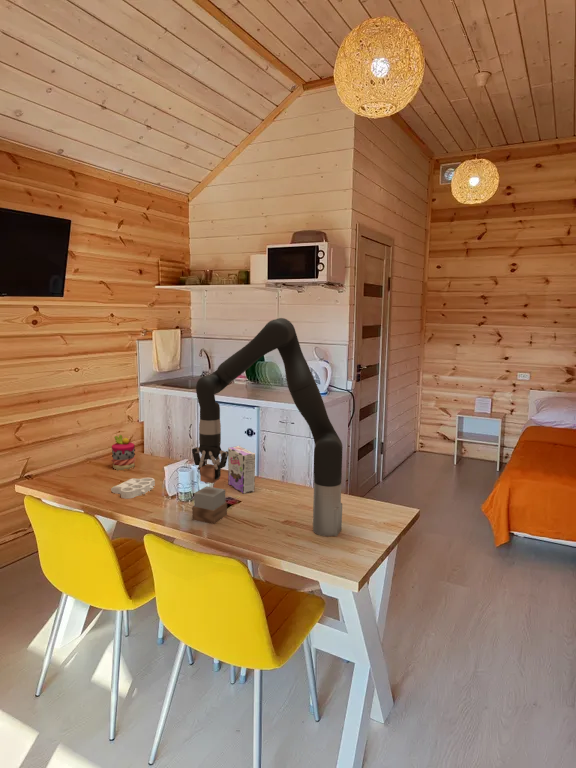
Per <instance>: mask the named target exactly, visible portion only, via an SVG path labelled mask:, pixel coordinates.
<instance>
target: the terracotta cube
mask: <svg viewBox="0 0 576 768" xmlns="http://www.w3.org/2000/svg"><path fill="white" fill-rule="evenodd" d="M206 464H207V465H205V466H203V467H201V468H200V467H199V475H200V476H199V477H200V482H203V483H209V484H214V483H216V482H217V481H220V479H221V476H220V477H219V479H217V480H216V479H215V467H214V464H213V463H212V464H210V463H206Z"/></svg>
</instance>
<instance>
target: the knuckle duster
mask: <svg viewBox="0 0 576 768" xmlns="http://www.w3.org/2000/svg"><path fill="white" fill-rule="evenodd" d="M155 481H156V480H155V478H153V477H142V478H129V479H127V480H125V481H124V482H122V483H120V484H117V485H113V487H111V488H110V489H111V490H110V491H111V492H112V493H113V494H118V495H120V498H121V499H133V498H135V497H137V496H139V497H140V496H143V495H145V494H146V493H149V492H151V491H152V490H153V489H154V488H155V487H156V482H155ZM153 486H155V487H153ZM150 490H151V491H150ZM148 491H149V492H148ZM142 494H143V495H142Z"/></svg>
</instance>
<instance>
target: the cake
mask: <svg viewBox="0 0 576 768" xmlns="http://www.w3.org/2000/svg"><path fill="white" fill-rule="evenodd" d="M114 440H115V443H113V444H112V445H111V450H112V451H111V453H112V455H111V457H112V459H111V460H110V461H111V462H112V469H113V468H114V469H116V470H115V471H119V470H123V471H125V470H124V469H130V468H132V467H134V466H135V463H136V460H137V458H136V456H135V455H136V453H135V452H136V448H135V443H133V442H130V439H129V438H127V437H124V438H123V435H122V434H120V435H118V436H117V435H115V436H114ZM135 467H136V466H135ZM135 467H134V468H135ZM114 469H113V470H114ZM130 470H131V469H130Z"/></svg>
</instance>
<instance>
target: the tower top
mask: <svg viewBox="0 0 576 768" xmlns="http://www.w3.org/2000/svg"><path fill="white" fill-rule="evenodd" d="M193 494H194V495H193V496H194V497H193V499H194V503H193V505H194V507H199V508H204V509H209V510H215V509H217V508H218V507H220V506H221V505H223V504H224V503H225V502H226V489H223V488H220V487H219V488H218V487H211V486H204V487H203V488H201V489H199V490H198V491H196V492H194V493H193Z"/></svg>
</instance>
